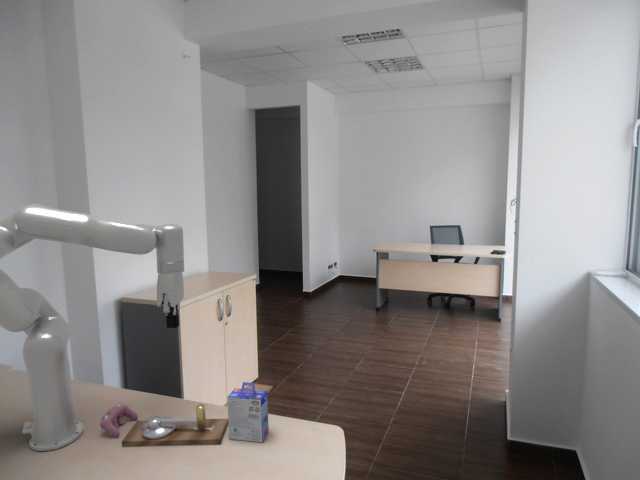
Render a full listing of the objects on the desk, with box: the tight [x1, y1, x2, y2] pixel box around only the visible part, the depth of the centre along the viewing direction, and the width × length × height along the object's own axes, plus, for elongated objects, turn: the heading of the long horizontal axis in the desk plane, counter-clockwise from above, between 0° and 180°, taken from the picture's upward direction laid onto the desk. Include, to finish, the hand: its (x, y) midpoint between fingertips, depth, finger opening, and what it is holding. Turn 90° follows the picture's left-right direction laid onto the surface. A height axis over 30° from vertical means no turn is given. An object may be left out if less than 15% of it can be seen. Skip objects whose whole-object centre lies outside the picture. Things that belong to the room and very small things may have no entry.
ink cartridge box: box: [226, 381, 270, 443], centre depth 113 cm, size 10×6×14 cm, turn 78°
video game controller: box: [99, 403, 138, 438], centre depth 118 cm, size 10×5×7 cm, turn 170°
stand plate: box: [121, 418, 229, 448], centre depth 115 cm, size 26×10×2 cm, turn 90°
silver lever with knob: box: [141, 403, 207, 439], centre depth 114 cm, size 18×9×7 cm, turn 88°
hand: (173, 327), depth 125 cm, fingers closed
